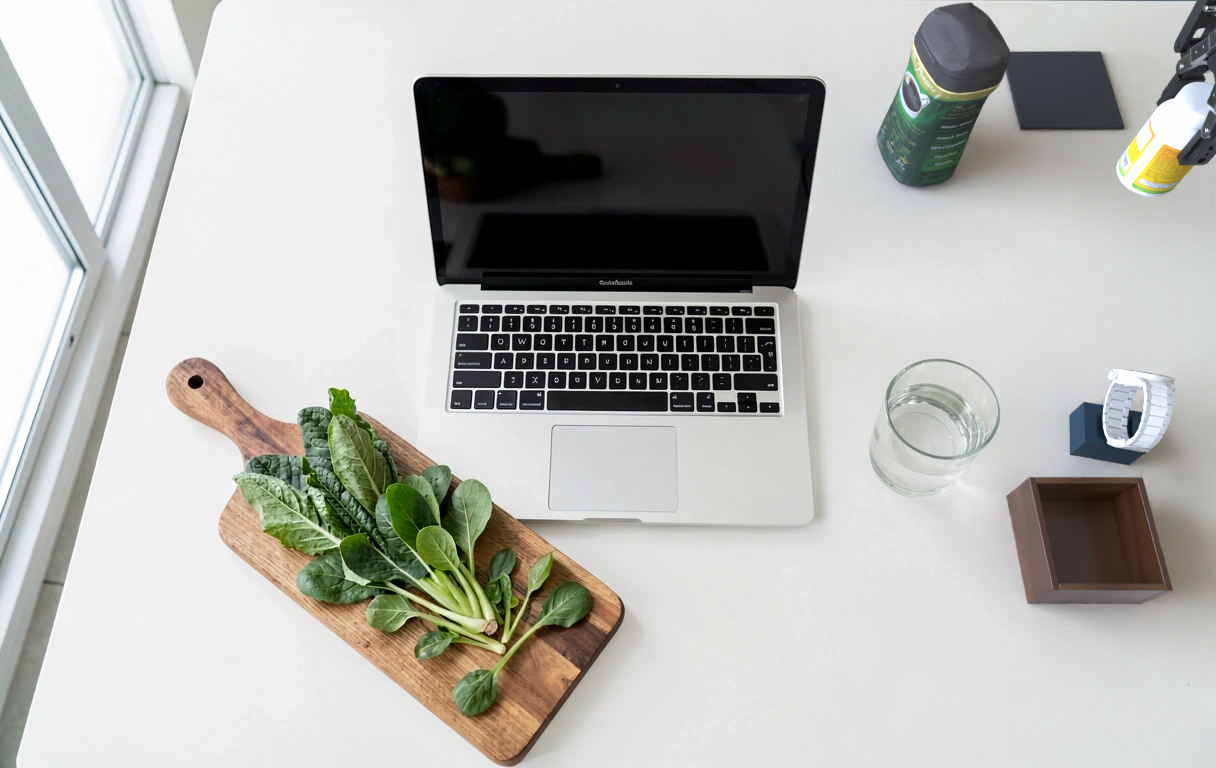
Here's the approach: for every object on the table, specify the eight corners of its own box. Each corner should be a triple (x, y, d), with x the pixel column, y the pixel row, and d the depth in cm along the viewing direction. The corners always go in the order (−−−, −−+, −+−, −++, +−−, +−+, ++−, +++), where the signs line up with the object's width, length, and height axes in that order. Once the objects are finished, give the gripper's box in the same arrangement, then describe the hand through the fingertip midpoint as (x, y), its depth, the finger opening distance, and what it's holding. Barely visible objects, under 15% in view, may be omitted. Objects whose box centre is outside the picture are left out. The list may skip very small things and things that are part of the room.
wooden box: (1113, 496, 86) (1142, 477, 81) (1140, 604, 81) (1173, 590, 77) (1006, 496, 86) (1029, 476, 81) (1027, 603, 81) (1053, 590, 77)
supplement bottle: (1188, 184, 82) (1255, 108, 74) (1143, 207, 81) (1205, 133, 73) (1146, 144, 85) (1206, 65, 76) (1102, 166, 84) (1157, 89, 75)
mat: (1099, 53, 111) (1100, 51, 110) (1123, 129, 105) (1125, 127, 105) (1001, 53, 111) (1002, 51, 110) (1020, 129, 105) (1021, 127, 105)
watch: (1126, 407, 90) (1189, 356, 80) (1129, 482, 86) (1195, 438, 76) (1068, 397, 90) (1123, 344, 80) (1069, 471, 87) (1127, 426, 77)
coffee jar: (962, 182, 102) (1031, 57, 85) (897, 196, 101) (952, 73, 85) (929, 119, 106) (988, -13, 90) (866, 131, 105) (913, 1, 89)
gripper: (1406, 42, 60) (1248, 200, 75) (1327, -102, 66) (1196, 71, 81) (1292, 45, 60) (1157, 203, 75) (1224, -99, 66) (1112, 73, 81)
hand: (1178, 133), depth 78 cm, fingers closed on supplement bottle, 5 cm apart
